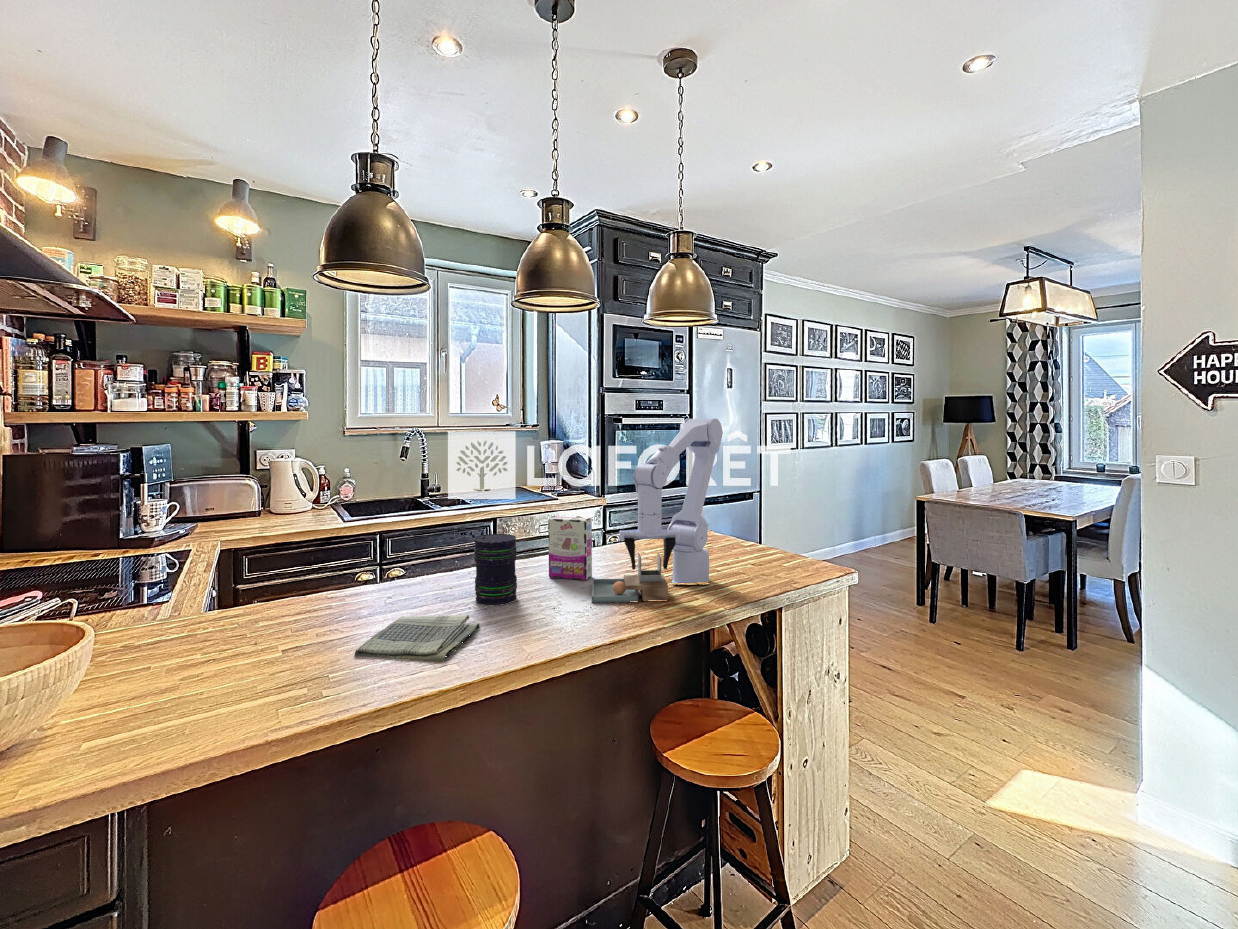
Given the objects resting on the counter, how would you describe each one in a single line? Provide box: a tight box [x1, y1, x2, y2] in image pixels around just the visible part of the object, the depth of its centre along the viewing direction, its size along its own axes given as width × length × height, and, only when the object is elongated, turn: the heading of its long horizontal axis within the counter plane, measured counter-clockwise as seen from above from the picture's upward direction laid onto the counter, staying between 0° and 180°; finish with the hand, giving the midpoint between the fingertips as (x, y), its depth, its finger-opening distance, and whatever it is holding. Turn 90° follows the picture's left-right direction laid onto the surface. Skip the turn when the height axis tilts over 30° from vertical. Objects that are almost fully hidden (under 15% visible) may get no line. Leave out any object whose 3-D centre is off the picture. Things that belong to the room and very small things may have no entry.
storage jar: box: [473, 533, 518, 606], centre depth 139 cm, size 10×10×15 cm
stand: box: [623, 574, 669, 601], centre depth 142 cm, size 10×9×4 cm
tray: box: [591, 578, 639, 604], centre depth 145 cm, size 11×15×2 cm
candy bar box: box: [547, 516, 593, 581], centre depth 159 cm, size 11×5×16 cm, turn 73°
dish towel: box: [354, 614, 481, 662], centre depth 114 cm, size 19×18×3 cm
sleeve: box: [637, 553, 662, 583], centre depth 142 cm, size 5×5×6 cm
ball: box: [613, 581, 626, 595], centre depth 142 cm, size 3×3×3 cm
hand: (649, 568), depth 142 cm, fingers open, 7 cm apart
